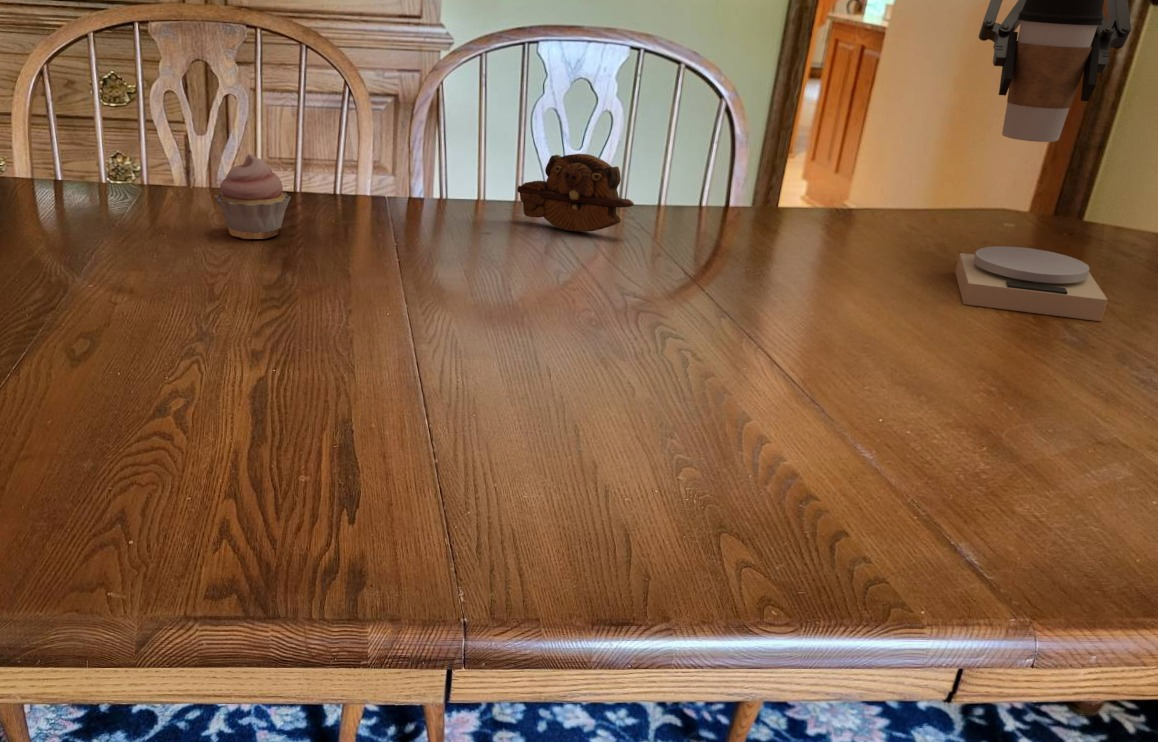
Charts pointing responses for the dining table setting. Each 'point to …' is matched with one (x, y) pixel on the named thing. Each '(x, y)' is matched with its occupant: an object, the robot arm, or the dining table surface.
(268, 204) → the cupcake
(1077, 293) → the kitchen scale
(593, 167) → the wooden carving
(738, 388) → the dining table surface
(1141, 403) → the dining table surface
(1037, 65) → the coffee cup
